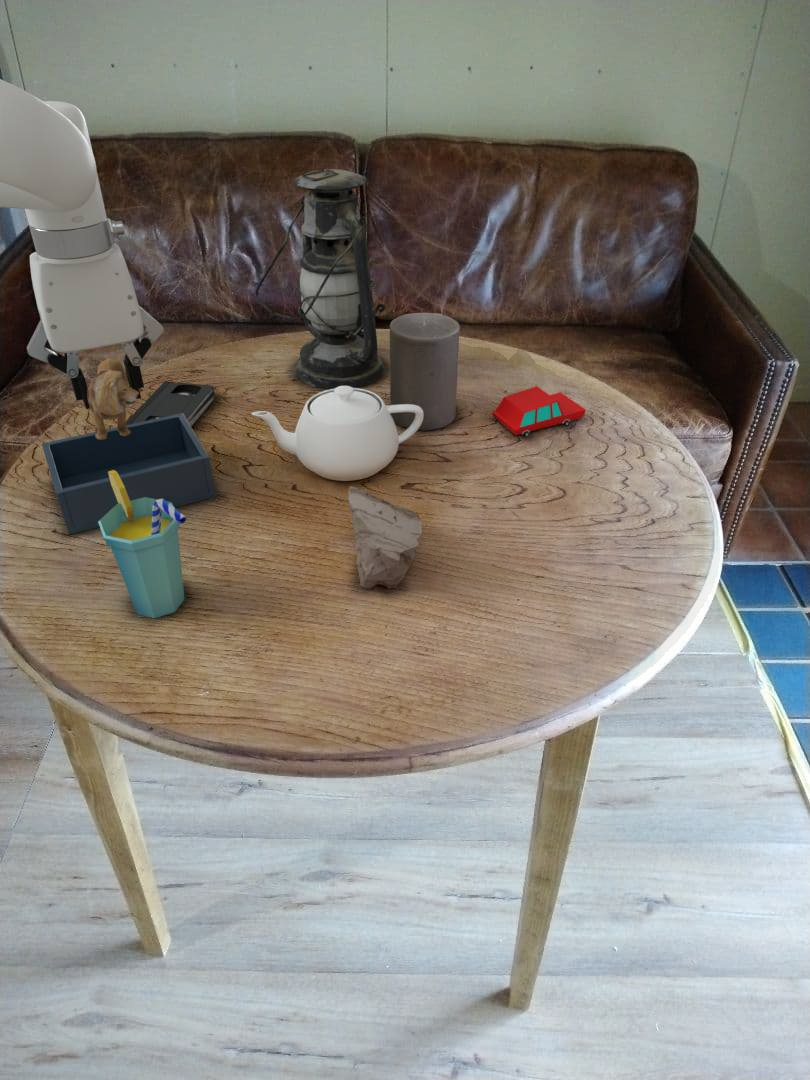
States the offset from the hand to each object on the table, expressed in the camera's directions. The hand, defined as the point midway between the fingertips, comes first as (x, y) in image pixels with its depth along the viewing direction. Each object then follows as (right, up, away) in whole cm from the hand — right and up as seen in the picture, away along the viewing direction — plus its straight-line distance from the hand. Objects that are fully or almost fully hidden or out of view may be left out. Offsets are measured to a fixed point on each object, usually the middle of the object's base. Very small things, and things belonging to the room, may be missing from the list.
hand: (111, 397), depth 93 cm
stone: (+32, -19, -3) cm, 37 cm away
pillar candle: (+37, +2, +24) cm, 44 cm away
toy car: (+54, +1, +23) cm, 58 cm away
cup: (+9, -24, -10) cm, 27 cm away
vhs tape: (0, +1, +23) cm, 23 cm away
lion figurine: (0, -3, +3) cm, 4 cm away
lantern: (+22, +10, +35) cm, 42 cm away
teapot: (+26, -7, +13) cm, 30 cm away
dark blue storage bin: (0, -10, +8) cm, 13 cm away
